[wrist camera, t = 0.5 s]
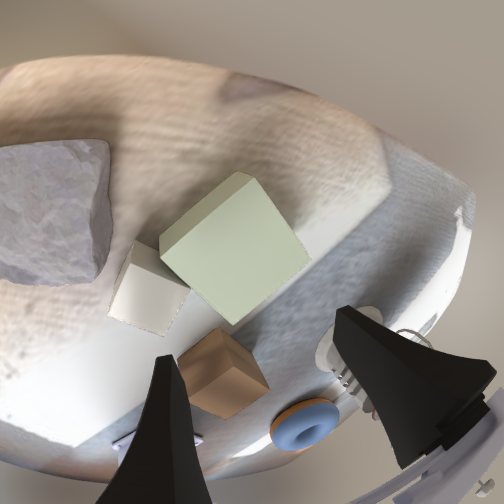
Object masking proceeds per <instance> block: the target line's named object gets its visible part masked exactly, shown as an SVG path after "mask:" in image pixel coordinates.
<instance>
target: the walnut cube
mask: <svg viewBox="0 0 504 504" xmlns="http://www.w3.org/2000/svg"><path fill="white" fill-rule="evenodd" d="M177 361H178V367H179V371H180V373H181V376H182V378H183V380H184V382H185V385H186V390H187V394H188V399H189V403H191V404H193V405H195V406H197V407H199V408H201V409H203V410H205V411H207V412H209V413H212V414H214V415H216V416H218V417H220V418H223V419H225V420H227V419H228V418H230V417H231V416H233V415H234V414H236V413H238V412H239V411H241V410H242V409H244V408H245V407H247V406H248V405H250V404H251V403H253V402H254V401H256V400H257V399H258V398H260V397H261V396H263V395H264V394H266V393H267V392H268V391H270V388H269V386H268V384H267V382H266V380H265V378H264V376H263V374H262V373H261V371H260V369H259V367H258V365H257V363H256V361H255V359H254V357H253V355H252V353H251V352H250V351H248V350H247V349H246V348H244V347H243V346H242V345H241V344H239V343H238V342H237V341H236V340H234V339H233V338H232V337H231V336H229V335H228V334H227V333H226V332H224V331H223V330H222V329H221V328H219V327H217V328H216V329H214V330H213V331H212V332H211V333H209V334H208V335H207V336H206V337H204V338H203V339H202V340H201V341H199V342H198V343H197V344H196V345H194V346H193V347H192V348H191V349H189V350H188V351H187V352H185V353H184V354H183V355H182V356H180V357H179V358H178V359H177Z"/></svg>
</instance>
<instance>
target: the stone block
mask: <svg viewBox="0 0 504 504" xmlns="http://www.w3.org/2000/svg"><path fill="white" fill-rule="evenodd" d="M110 160H111V156H110V150H109V145H108V143H107V142H106V141H104V140H99V139H75V140H56V141H41V142H33V143H25V144H18V145H11V146H3V147H0V280H3V279H5V280H9V281H10V282H12V283H14V284H20V285H26V286H39V285H43V286H49V287H53V286H62V285H65V284H69V285H73V284H82V283H90V282H93V281H94V280H95V279H96V277H97V276H98V275H99V274H100V273H101V271H102V269H103V267H104V265H105V263H106V261H107V256H108V253H109V249H110V239H111V235H112V228H113V221H112V215H111V209H110V206H111V203H110V201H109V198H108V184H109V177H110Z"/></svg>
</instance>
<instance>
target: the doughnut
mask: <svg viewBox="0 0 504 504" xmlns="http://www.w3.org/2000/svg"><path fill="white" fill-rule="evenodd" d="M338 421H339V410H338V408H337V407H336V406H335V405H334V404H333V403H332V402H331V401H330V400H327V399H323V398H315V399H309V400H306V401H302V402H300V403H298V404H296V405H293V406H292V407H290V408H288V409H287V410H285V411H284V412H283V413H281V414H280V415H279V416H278V417H277V418H276V419H275V421H274V422H273V424H272V425H271V429H270V437H271V439H272V441H273V443H274V444H275V446H277V447H278V448H280V449H282V450H288V451H292V450H299V449H303V448H306V447H309V446H311V445H313V444H315V443H317V442H319V441H320V440H322V439H323V438H325V437H326V436H327V435H328V434H329V433H330V432H331V431H332V430H333V429H334V428H335V427H336V425H337V423H338Z"/></svg>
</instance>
